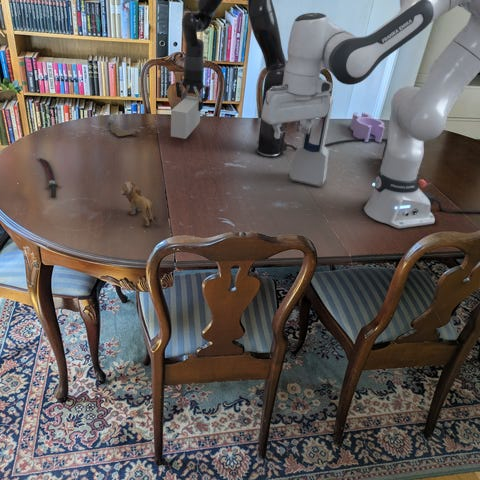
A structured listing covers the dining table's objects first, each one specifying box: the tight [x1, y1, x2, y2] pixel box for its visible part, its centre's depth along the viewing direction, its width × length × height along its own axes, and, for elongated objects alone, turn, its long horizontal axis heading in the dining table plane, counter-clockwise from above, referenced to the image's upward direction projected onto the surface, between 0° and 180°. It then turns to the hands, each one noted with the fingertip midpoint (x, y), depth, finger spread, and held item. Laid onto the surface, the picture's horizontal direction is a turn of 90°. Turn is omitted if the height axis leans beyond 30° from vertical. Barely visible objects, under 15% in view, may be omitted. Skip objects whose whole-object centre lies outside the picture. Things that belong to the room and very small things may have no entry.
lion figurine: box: [119, 181, 159, 227], centre depth 134 cm, size 15×5×9 cm, turn 50°
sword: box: [40, 158, 59, 198], centre depth 151 cm, size 31×3×1 cm, turn 26°
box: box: [170, 95, 202, 140], centre depth 187 cm, size 21×6×10 cm, turn 169°
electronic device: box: [288, 95, 335, 188], centre depth 159 cm, size 12×8×30 cm, turn 71°
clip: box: [349, 112, 386, 143], centre depth 214 cm, size 20×12×7 cm, turn 11°
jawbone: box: [108, 119, 142, 137], centre depth 191 cm, size 9×20×2 cm, turn 50°
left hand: (191, 109), depth 193 cm, fingers closed on box, 6 cm apart
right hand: (291, 135), depth 125 cm, fingers open, 8 cm apart
